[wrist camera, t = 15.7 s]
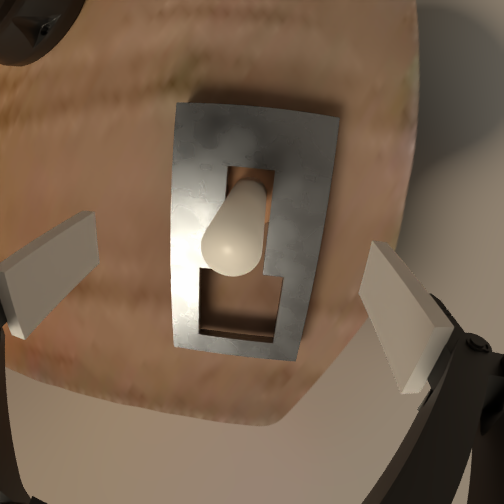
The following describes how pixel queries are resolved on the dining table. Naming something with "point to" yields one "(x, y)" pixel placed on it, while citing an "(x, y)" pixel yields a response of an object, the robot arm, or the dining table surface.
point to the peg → (239, 222)
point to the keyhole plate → (280, 221)
